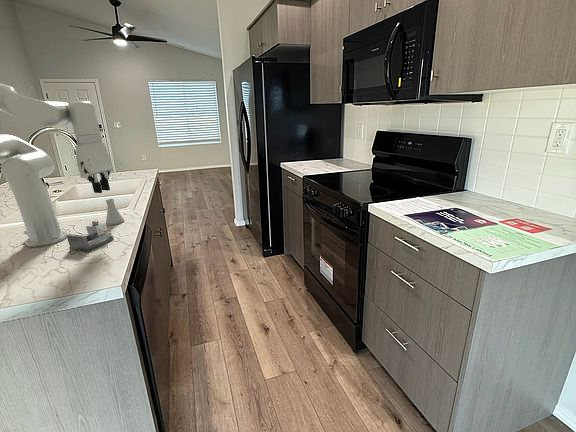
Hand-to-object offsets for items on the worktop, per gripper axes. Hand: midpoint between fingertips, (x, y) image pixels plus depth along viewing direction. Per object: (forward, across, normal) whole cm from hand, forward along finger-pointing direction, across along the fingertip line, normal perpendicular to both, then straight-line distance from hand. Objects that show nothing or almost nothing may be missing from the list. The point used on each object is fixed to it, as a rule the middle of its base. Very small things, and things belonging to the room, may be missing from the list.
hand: (102, 191), depth 113 cm
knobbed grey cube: (+16, +6, +1) cm, 17 cm away
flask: (+17, -11, -10) cm, 23 cm away
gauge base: (+17, +9, 0) cm, 19 cm away
